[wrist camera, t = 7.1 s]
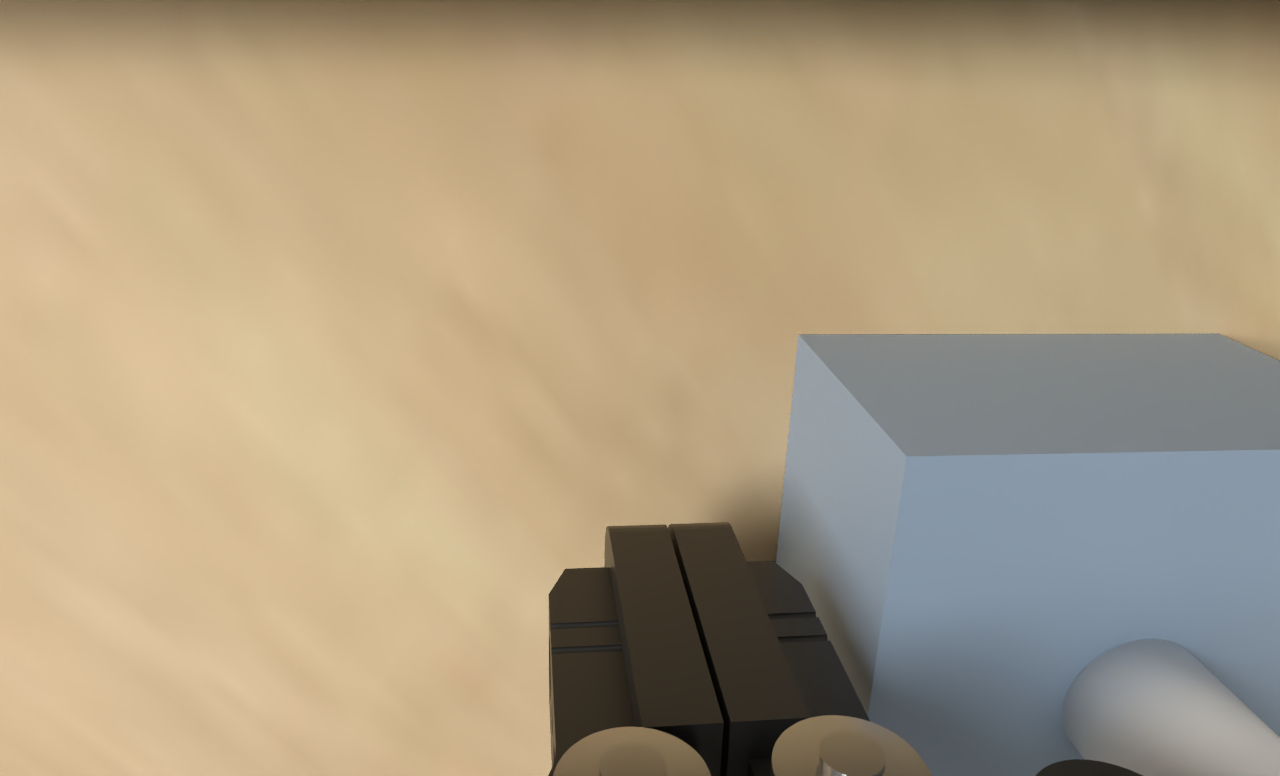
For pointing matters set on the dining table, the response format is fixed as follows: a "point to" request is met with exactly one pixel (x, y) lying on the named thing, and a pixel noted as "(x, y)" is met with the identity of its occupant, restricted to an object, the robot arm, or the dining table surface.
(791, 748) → the robot arm
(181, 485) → the dining table surface
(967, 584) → the housing block
